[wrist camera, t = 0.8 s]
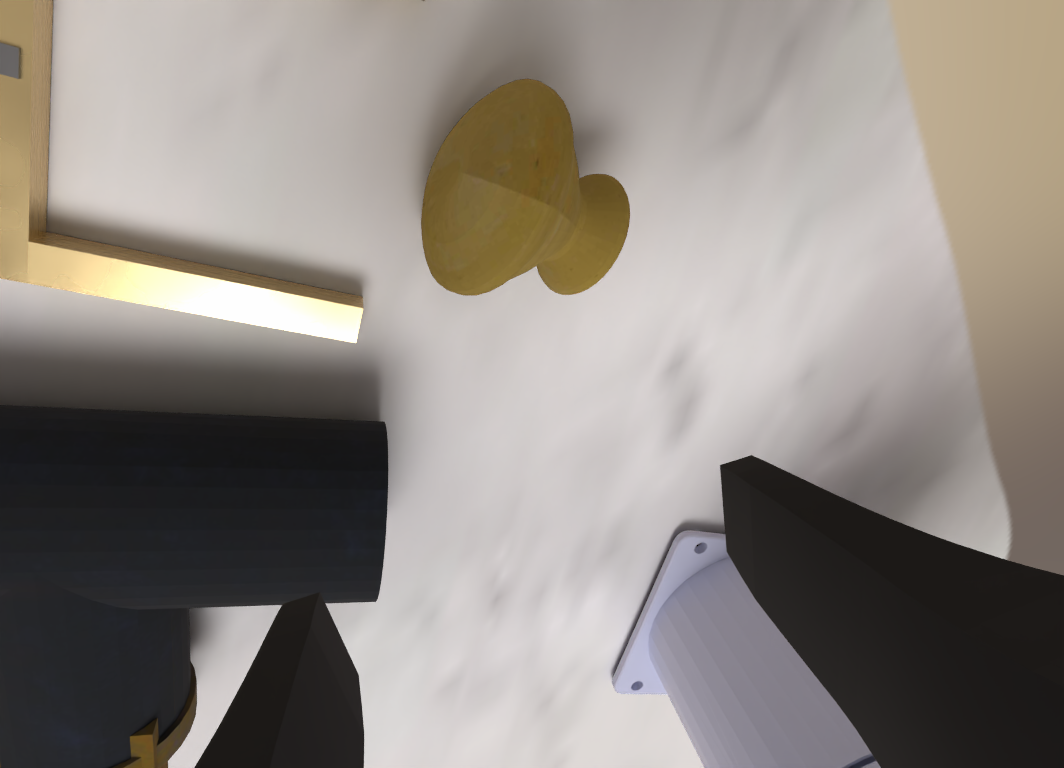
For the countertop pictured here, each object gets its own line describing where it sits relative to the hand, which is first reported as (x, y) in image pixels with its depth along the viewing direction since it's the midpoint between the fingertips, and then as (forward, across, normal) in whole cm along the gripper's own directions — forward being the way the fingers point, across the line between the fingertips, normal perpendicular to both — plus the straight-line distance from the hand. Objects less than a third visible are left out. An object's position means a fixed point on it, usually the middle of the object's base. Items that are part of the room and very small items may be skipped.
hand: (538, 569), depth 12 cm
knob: (+10, -2, -4) cm, 11 cm away
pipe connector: (+10, +12, +3) cm, 16 cm away
